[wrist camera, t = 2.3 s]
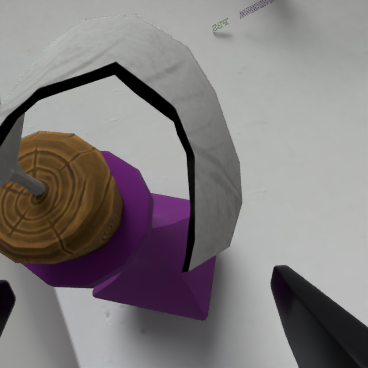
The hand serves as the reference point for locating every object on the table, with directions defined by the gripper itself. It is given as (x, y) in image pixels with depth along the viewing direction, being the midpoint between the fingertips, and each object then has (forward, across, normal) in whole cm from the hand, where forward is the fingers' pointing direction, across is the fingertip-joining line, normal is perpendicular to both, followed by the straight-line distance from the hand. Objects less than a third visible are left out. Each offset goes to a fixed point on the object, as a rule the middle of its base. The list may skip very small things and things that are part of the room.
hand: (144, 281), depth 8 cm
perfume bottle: (+9, 0, +7) cm, 11 cm away
